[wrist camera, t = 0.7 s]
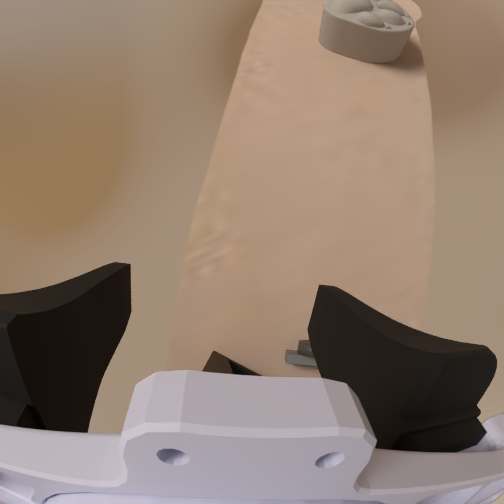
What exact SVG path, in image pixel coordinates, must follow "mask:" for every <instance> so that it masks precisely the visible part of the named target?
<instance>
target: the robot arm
mask: <svg viewBox="0 0 504 504" xmlns="http://www.w3.org/2000/svg"><path fill="white" fill-rule="evenodd" d="M130 270H131V267H130V264H126V263H117V262H114V263H110V264H108V265H105V266H102V267H100V268H97V269H95V270H92V271H90V272H88V273H85V274H83V275H80V276H78V277H75V278H73V279H70V280H67V281H64V282H62V283H59V284H55V285H52V286H48V287H45V288H41V289H36V290H31V291H25V292H20V293H11V294H0V504H490V503H492V502H493V501H495V500H496V499H497V498H499V497H500V496H501V495H502V494H503V493H504V413H501V414H499V415H496V416H493V417H490V418H488V419H486V420H485V421H484V422H482V423H480V421H479V420H478V419H477V417H478V416H479V415H480V414H481V411H480V409H479V408H478V407H477V404H478V402H479V401H480V399H481V398H482V396H483V395H484V393H485V391H486V390H487V388H488V387H489V385H490V383H491V381H492V379H493V377H494V374H495V371H496V368H497V359H496V356H495V355H494V353H493V352H492V351H491V350H490V349H489V348H488V347H486V346H484V345H478V344H470V343H463V342H457V341H453V340H448V339H444V338H440V337H437V336H433V335H430V334H427V333H424V332H421V331H418V330H416V329H413V328H411V327H408V326H406V325H404V324H402V323H399V322H397V321H395V320H393V319H391V318H389V317H387V316H385V315H384V314H382V313H380V312H378V311H376V310H375V309H373V308H371V307H370V306H368V305H366V304H365V303H363V302H361V301H360V300H358V299H357V298H355V297H353V296H352V295H350V294H348V293H347V292H345V291H343V290H341V289H340V288H337V287H335V286H327V285H319V287H318V291H317V295H316V299H315V303H314V307H313V311H312V315H311V318H310V322H309V326H308V335H309V340H310V345H311V350H312V353H313V355H314V358H315V361H316V364H317V367H318V369H319V372H320V375H321V377H322V378H294V377H267V376H249V375H235V374H223V373H212V372H202V371H193V370H179V371H163V372H156V373H154V374H152V375H151V376H149V377H147V378H146V379H144V380H142V381H141V382H139V383H137V384H136V387H135V390H134V393H133V396H132V400H131V403H130V406H129V410H128V413H127V416H126V420H125V423H124V427H123V430H122V433H88V428H89V423H90V419H91V415H92V411H93V407H94V404H95V400H96V397H97V393H98V390H99V386H100V384H101V381H102V378H103V376H104V373H105V371H106V369H107V367H108V365H109V363H110V360H111V358H112V356H113V354H114V352H115V350H116V348H117V346H118V344H119V342H120V340H121V338H122V336H123V334H124V332H125V329H126V327H127V324H128V320H129V317H130V314H131V272H130Z"/></svg>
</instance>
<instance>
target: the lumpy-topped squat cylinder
mask: <svg viewBox="0 0 504 504" xmlns="http://www.w3.org/2000/svg"><path fill="white" fill-rule="evenodd" d="M413 28H414V21H413V19H412V17H411V16H410V15H409V14H408V13H407V12H406V11H405V10H404V9H403V8H402V7H401V6H399V5H398V4H396V3H395V2H393V1H391V0H326V2H325V4H324V9H323V14H322V20H321V27H320V33H319V42H320V44H321V45H322V46H323V47H324V48H326V49H327V50H329V51H331V52H334V53H337V54H340V55H343V56H346V57H349V58H352V59H356V60H359V61H363V62H368V63H388V62H392V61H395V60H396V59H398V58H399V57H400V55H401V53H402V51H403V49H404V47H405V45H406V43H407V41H408V39H409V37H410V34H411V32H412V30H413Z"/></svg>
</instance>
